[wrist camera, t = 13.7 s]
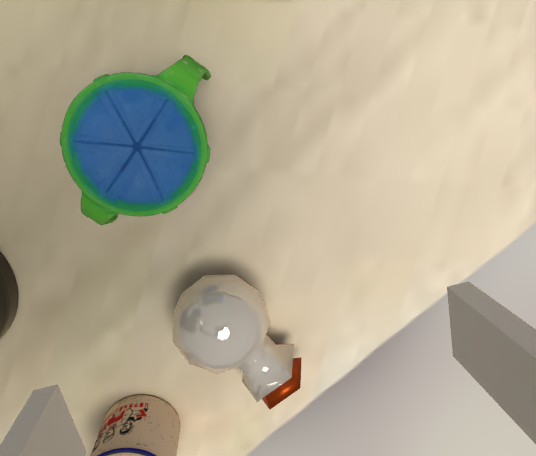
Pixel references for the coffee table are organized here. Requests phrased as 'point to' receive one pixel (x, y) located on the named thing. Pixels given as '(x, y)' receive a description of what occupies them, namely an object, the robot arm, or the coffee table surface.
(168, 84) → the snack cup
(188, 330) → the potion bottle
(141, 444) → the teacup with lid
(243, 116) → the coffee table surface
